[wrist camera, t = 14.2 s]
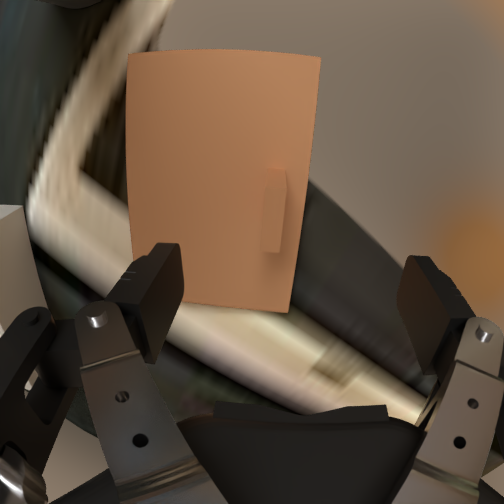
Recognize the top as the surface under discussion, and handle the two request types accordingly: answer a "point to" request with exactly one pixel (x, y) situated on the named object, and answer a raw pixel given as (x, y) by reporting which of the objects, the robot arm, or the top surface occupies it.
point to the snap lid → (222, 167)
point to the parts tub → (17, 271)
